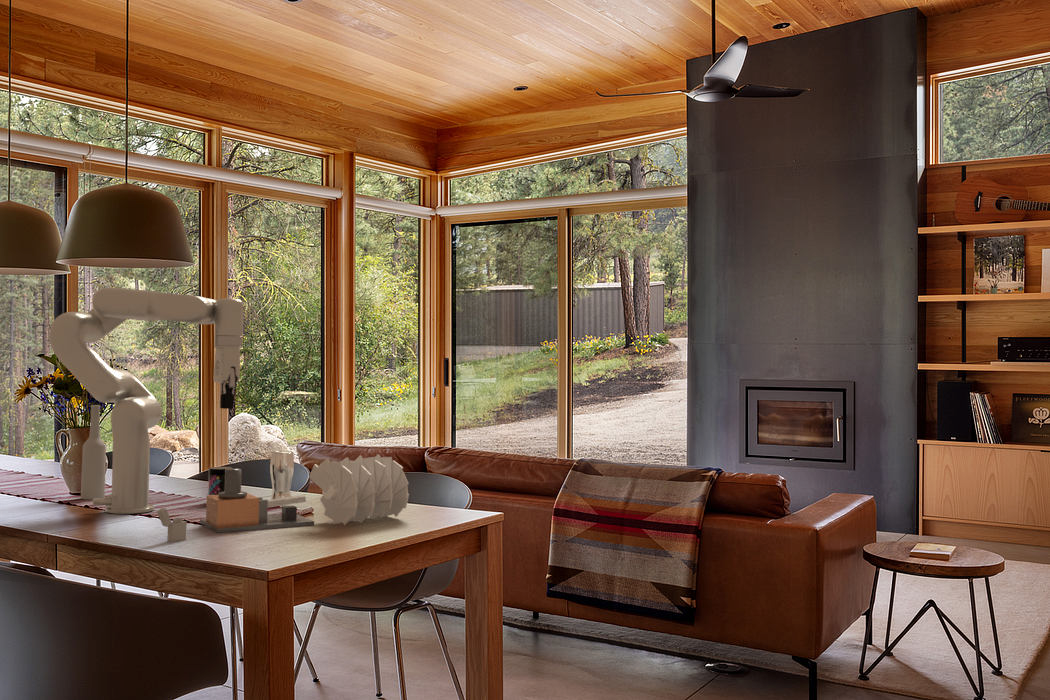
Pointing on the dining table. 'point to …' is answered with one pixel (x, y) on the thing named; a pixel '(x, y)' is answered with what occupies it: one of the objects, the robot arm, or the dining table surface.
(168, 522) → the lighter
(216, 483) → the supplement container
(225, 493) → the steel pin
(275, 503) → the latch lever
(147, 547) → the dining table surface
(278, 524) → the base
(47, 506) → the dining table surface
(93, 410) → the bottle
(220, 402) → the robot arm
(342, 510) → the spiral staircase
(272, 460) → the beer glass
